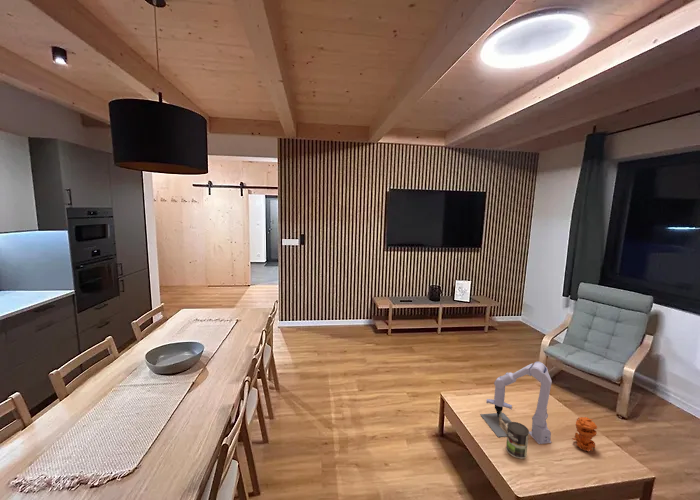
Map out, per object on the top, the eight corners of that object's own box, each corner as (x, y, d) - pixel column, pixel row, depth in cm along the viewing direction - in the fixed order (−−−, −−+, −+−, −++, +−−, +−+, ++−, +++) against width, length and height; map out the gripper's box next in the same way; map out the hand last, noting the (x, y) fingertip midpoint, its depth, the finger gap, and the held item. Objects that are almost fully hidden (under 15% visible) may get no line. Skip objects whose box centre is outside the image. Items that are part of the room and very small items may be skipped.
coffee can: (517, 461, 162) (519, 436, 160) (501, 447, 171) (503, 424, 170) (531, 455, 165) (533, 432, 164) (515, 442, 175) (517, 419, 173)
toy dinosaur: (586, 456, 165) (589, 426, 163) (567, 442, 175) (570, 413, 173) (601, 452, 168) (605, 422, 166) (582, 438, 178) (584, 409, 176)
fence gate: (501, 423, 189) (501, 418, 189) (499, 423, 190) (499, 417, 189) (501, 415, 197) (501, 410, 196) (499, 414, 197) (499, 409, 197)
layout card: (523, 435, 180) (523, 434, 180) (498, 437, 179) (498, 436, 179) (503, 413, 200) (503, 412, 200) (480, 415, 199) (480, 414, 199)
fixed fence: (510, 435, 180) (510, 427, 179) (507, 435, 180) (508, 427, 179) (500, 424, 189) (501, 416, 189) (498, 424, 189) (498, 416, 188)
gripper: (512, 396, 193) (510, 415, 195) (487, 389, 200) (486, 409, 201) (512, 402, 187) (510, 422, 189) (486, 395, 193) (485, 415, 195)
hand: (498, 416), depth 195 cm, fingers closed
